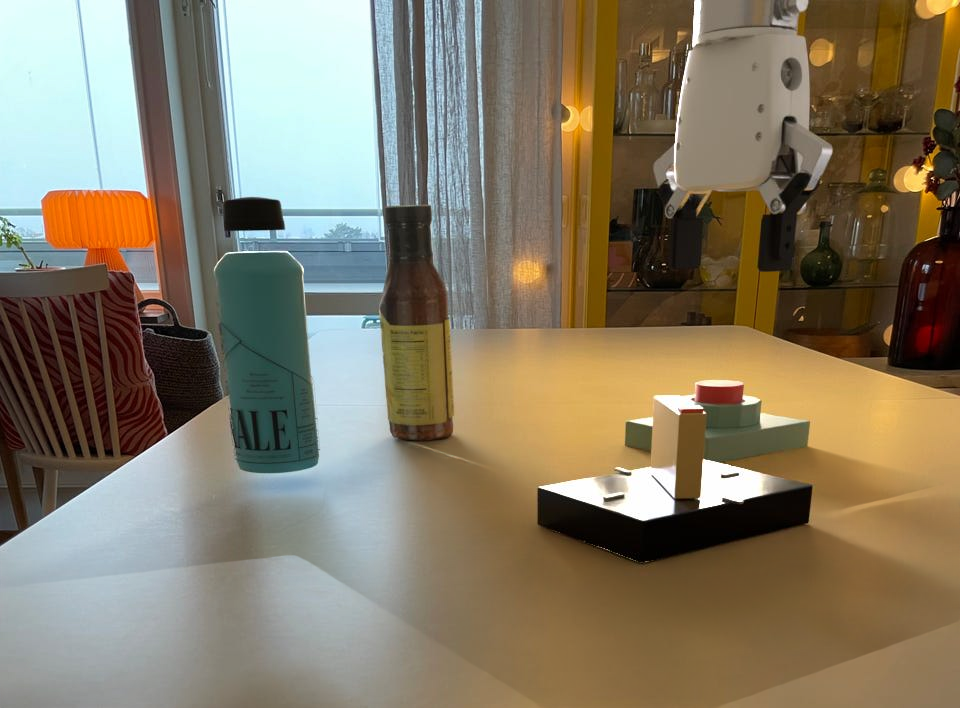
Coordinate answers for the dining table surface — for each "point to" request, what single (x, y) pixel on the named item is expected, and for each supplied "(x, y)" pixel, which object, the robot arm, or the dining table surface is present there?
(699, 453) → the tan rectangular block
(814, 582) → the dining table surface
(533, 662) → the dining table surface
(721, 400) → the button
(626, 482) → the dial base
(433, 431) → the sauce bottle
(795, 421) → the button block
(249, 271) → the beverage bottle
